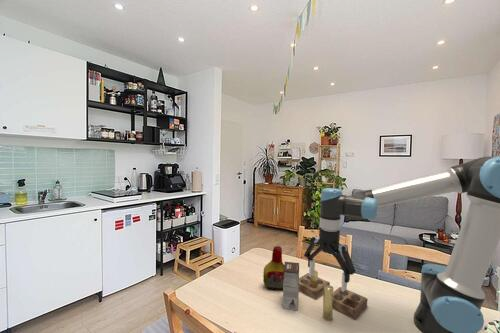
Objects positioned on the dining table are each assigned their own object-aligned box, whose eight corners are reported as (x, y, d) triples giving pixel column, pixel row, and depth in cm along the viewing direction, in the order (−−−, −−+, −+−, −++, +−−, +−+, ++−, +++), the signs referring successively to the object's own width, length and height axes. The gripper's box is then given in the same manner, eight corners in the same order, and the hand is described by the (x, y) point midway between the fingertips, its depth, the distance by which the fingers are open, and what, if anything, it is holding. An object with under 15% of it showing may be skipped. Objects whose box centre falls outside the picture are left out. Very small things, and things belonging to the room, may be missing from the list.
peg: (334, 318, 93) (335, 287, 92) (329, 322, 90) (330, 291, 90) (325, 313, 95) (326, 284, 95) (320, 317, 93) (321, 287, 93)
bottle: (288, 286, 115) (289, 245, 114) (287, 293, 109) (288, 250, 108) (264, 282, 118) (265, 242, 117) (262, 289, 112) (262, 247, 111)
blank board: (367, 306, 100) (367, 297, 100) (355, 319, 92) (355, 310, 92) (339, 294, 109) (340, 286, 109) (326, 305, 101) (326, 296, 101)
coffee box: (283, 296, 107) (284, 260, 106) (298, 298, 106) (299, 262, 105) (282, 308, 98) (283, 270, 97) (298, 311, 97) (299, 272, 96)
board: (329, 289, 113) (330, 268, 112) (316, 299, 104) (316, 277, 104) (307, 279, 121) (308, 260, 121) (293, 288, 113) (294, 267, 113)
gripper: (367, 235, 85) (363, 292, 86) (307, 219, 103) (305, 267, 104) (358, 239, 80) (355, 301, 81) (296, 222, 98) (294, 273, 99)
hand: (327, 282), depth 93 cm, fingers open, 13 cm apart
